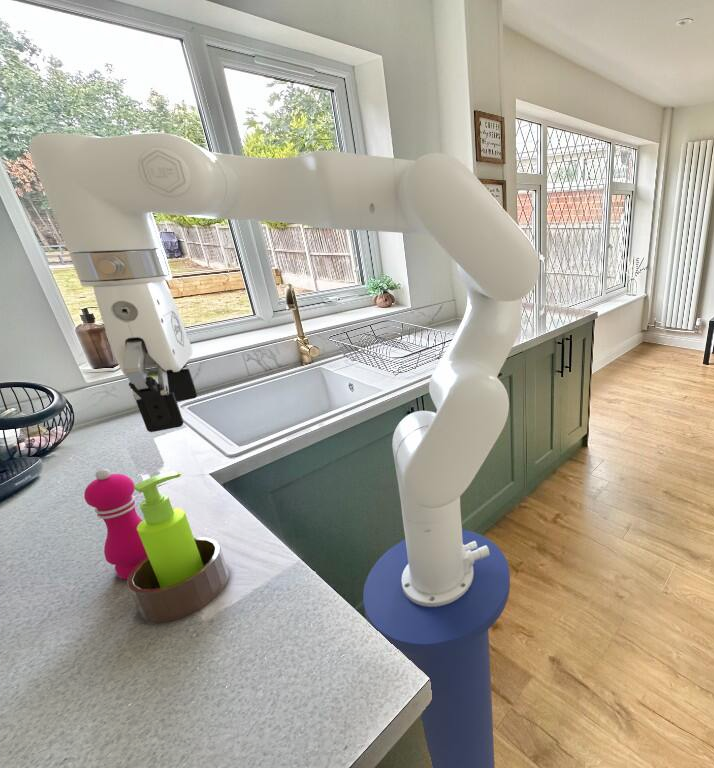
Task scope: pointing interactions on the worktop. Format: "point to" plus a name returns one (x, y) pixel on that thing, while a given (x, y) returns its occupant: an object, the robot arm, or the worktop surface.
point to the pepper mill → (117, 520)
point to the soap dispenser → (166, 534)
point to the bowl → (179, 586)
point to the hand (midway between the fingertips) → (175, 412)
